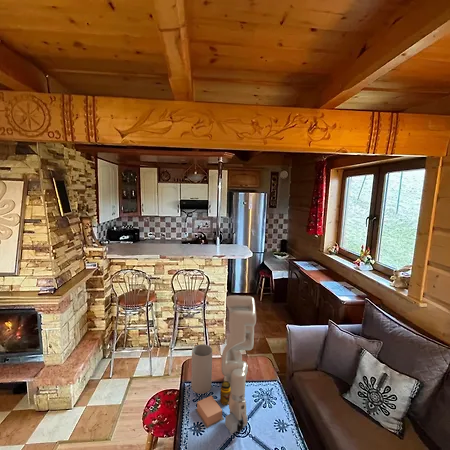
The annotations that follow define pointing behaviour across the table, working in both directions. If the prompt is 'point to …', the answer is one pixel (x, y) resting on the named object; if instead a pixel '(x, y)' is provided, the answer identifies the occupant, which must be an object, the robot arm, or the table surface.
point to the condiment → (225, 393)
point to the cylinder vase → (201, 368)
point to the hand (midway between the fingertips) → (236, 424)
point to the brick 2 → (233, 422)
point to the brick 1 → (209, 410)
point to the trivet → (204, 421)
